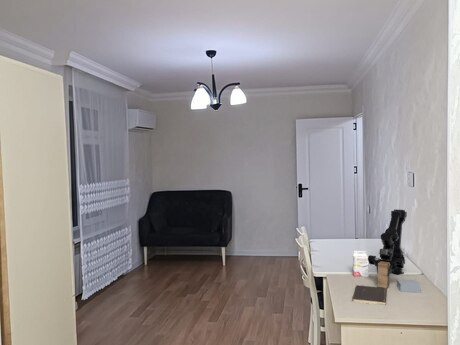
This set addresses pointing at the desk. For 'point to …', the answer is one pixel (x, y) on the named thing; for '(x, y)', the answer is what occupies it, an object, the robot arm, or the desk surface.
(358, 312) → the desk surface
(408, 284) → the slate plinth
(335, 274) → the desk surface
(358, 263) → the ink cartridge box
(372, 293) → the hardcover book
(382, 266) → the walnut post
